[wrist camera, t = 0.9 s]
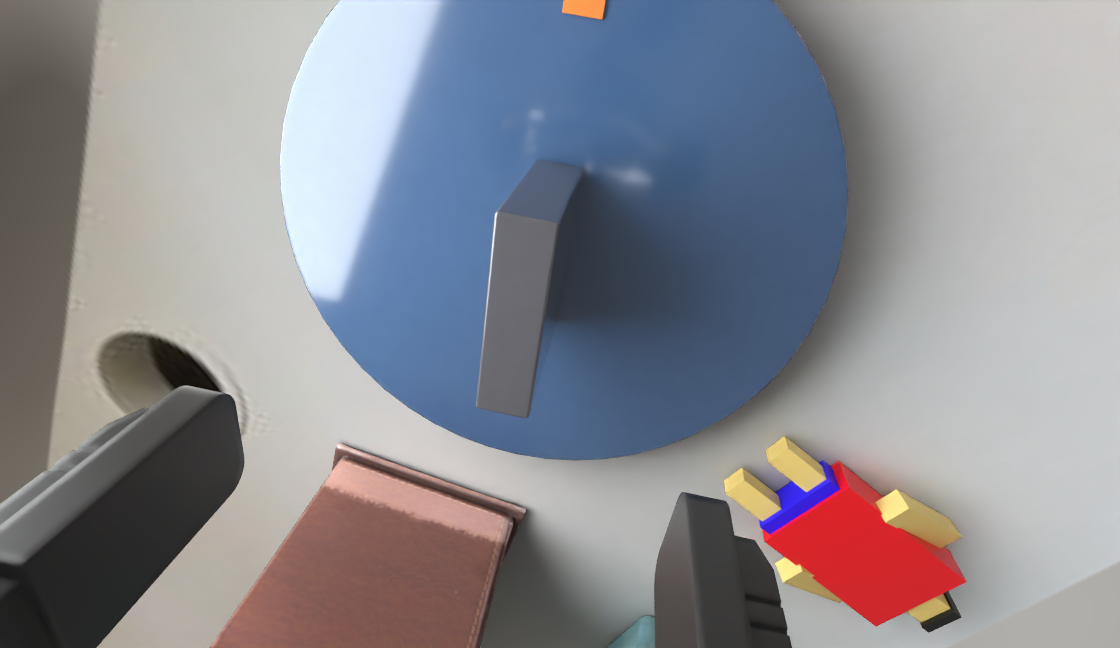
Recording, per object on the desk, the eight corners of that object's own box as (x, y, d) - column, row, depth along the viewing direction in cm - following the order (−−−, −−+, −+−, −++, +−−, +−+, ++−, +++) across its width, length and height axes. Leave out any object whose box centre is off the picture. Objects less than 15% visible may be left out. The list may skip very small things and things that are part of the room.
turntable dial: (263, -148, 16) (45, -244, 10) (958, -32, 15) (1153, -65, 10) (309, 398, 26) (210, 510, 20) (736, 489, 25) (764, 633, 19)
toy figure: (702, 522, 26) (884, 658, 28) (822, 437, 23) (1018, 597, 25) (700, 485, 28) (869, 614, 30) (809, 403, 25) (990, 552, 27)
